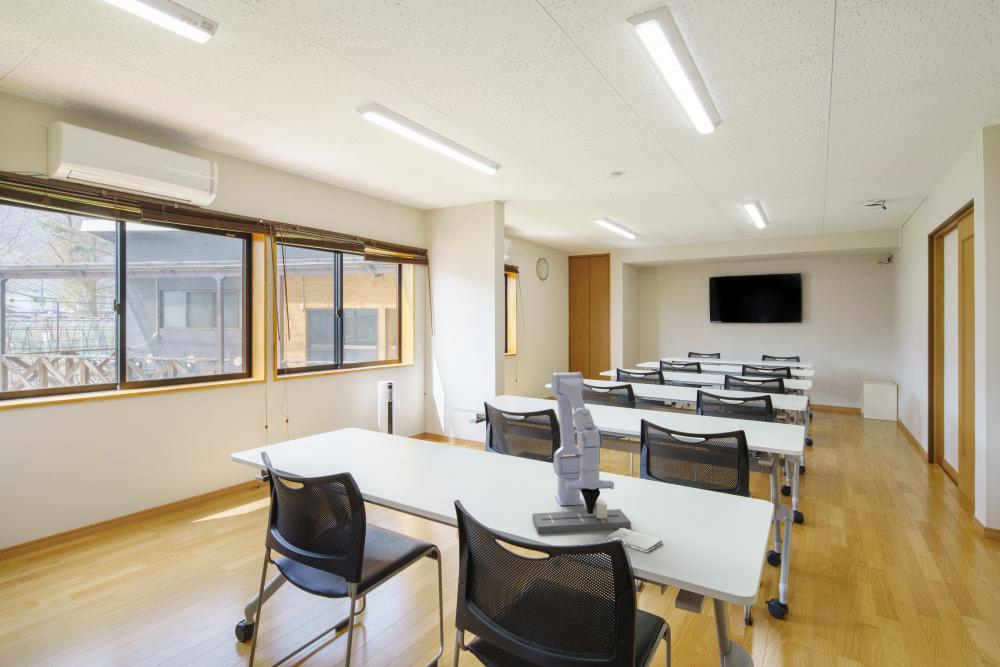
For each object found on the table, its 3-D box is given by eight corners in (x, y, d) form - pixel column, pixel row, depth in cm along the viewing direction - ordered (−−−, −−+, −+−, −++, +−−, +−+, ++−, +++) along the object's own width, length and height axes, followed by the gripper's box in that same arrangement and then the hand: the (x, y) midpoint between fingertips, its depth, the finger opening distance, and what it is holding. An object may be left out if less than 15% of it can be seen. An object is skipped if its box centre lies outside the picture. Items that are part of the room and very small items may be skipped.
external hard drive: (646, 555, 136) (607, 540, 145) (662, 545, 142) (623, 532, 151) (646, 549, 136) (607, 535, 145) (662, 539, 142) (623, 526, 151)
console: (532, 519, 159) (532, 513, 159) (619, 515, 162) (619, 508, 162) (537, 533, 149) (537, 526, 149) (630, 528, 152) (630, 521, 152)
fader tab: (592, 512, 159) (592, 499, 158) (602, 511, 159) (602, 498, 159) (597, 518, 154) (597, 505, 153) (607, 517, 154) (606, 504, 154)
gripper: (569, 473, 151) (569, 518, 151) (617, 471, 152) (617, 516, 153) (564, 466, 158) (564, 509, 158) (609, 464, 159) (610, 507, 160)
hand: (589, 512), depth 156 cm, fingers closed
